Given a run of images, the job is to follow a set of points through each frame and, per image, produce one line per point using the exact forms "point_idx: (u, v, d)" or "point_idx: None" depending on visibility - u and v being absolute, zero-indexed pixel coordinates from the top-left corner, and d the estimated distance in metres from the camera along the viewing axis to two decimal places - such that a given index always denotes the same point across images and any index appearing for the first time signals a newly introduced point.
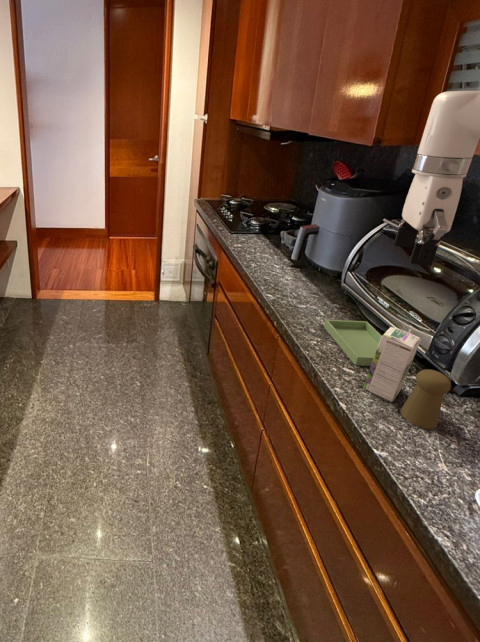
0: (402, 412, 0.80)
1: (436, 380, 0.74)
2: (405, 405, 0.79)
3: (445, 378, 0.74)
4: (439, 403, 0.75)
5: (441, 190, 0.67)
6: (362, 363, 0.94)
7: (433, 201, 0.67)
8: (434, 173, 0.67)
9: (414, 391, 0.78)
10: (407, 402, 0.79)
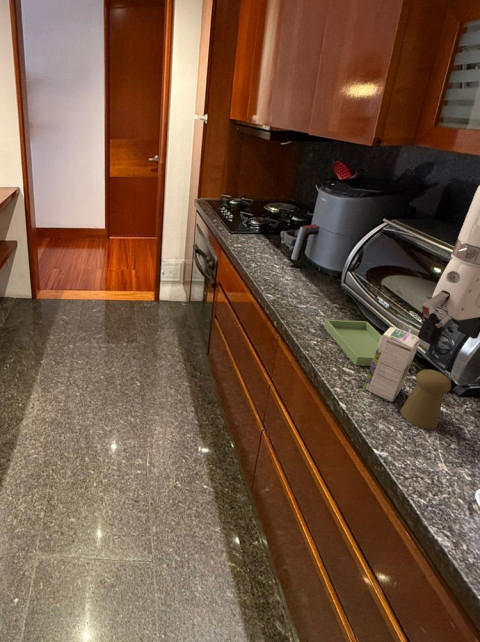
0: (402, 412, 0.80)
1: (436, 380, 0.74)
2: (405, 405, 0.79)
3: (445, 378, 0.74)
4: (439, 403, 0.75)
5: (456, 274, 0.66)
6: (362, 363, 0.94)
7: (443, 282, 0.68)
8: (455, 256, 0.67)
9: (414, 391, 0.78)
10: (407, 402, 0.79)
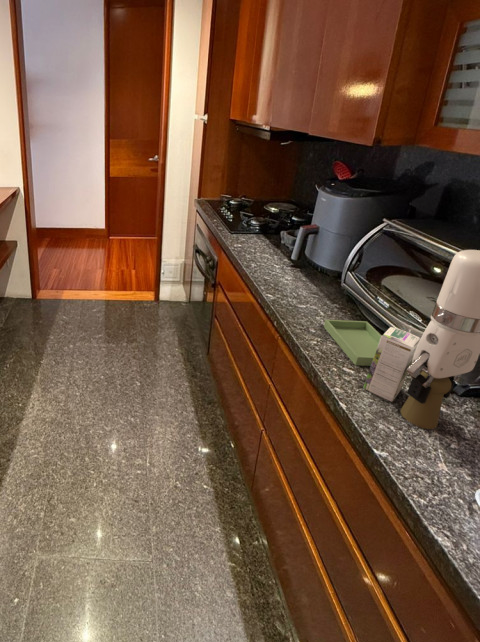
0: (402, 412, 0.80)
1: (437, 380, 0.74)
2: (405, 405, 0.79)
3: (446, 378, 0.74)
4: (439, 403, 0.75)
5: (435, 336, 0.71)
6: (362, 363, 0.94)
7: (423, 342, 0.72)
8: (434, 319, 0.71)
9: None
10: (407, 402, 0.79)
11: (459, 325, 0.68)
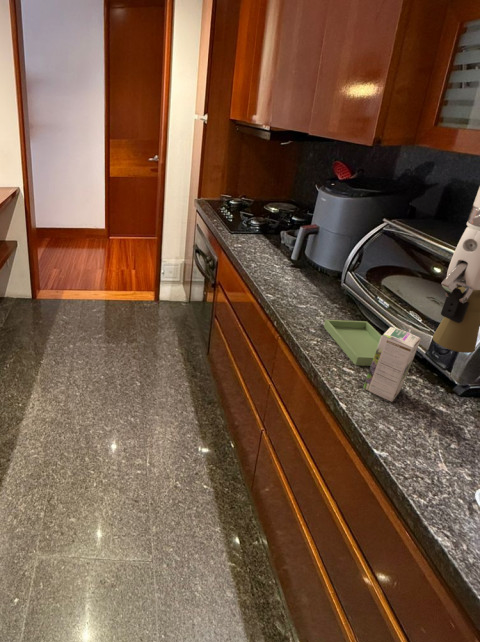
0: (435, 338, 0.73)
1: (475, 295, 0.67)
2: (438, 329, 0.72)
3: None
4: (478, 322, 0.68)
5: (473, 242, 0.64)
6: (362, 363, 0.94)
7: (459, 251, 0.65)
8: (471, 224, 0.64)
9: None
10: (440, 326, 0.72)
11: None
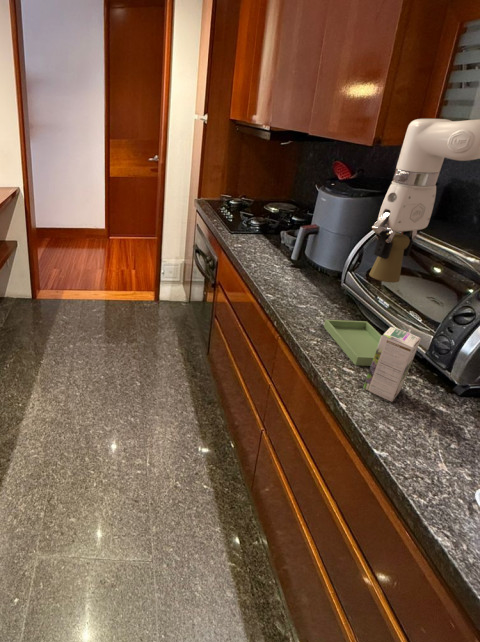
0: (370, 273, 0.94)
1: (397, 237, 0.88)
2: (373, 266, 0.93)
3: (405, 236, 0.88)
4: (400, 258, 0.89)
5: (394, 195, 0.85)
6: (362, 363, 0.94)
7: (385, 203, 0.86)
8: (394, 181, 0.85)
9: None
10: (374, 263, 0.93)
11: (413, 181, 0.82)
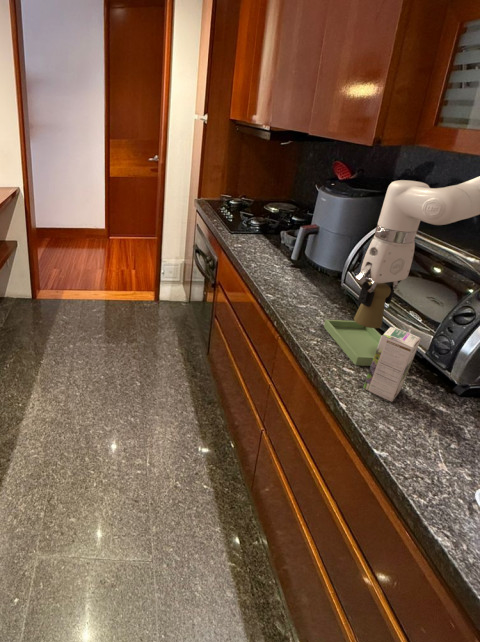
0: (355, 318, 1.00)
1: (379, 287, 0.94)
2: (357, 312, 0.99)
3: (386, 285, 0.94)
4: (382, 306, 0.95)
5: (376, 249, 0.91)
6: (362, 363, 0.94)
7: (367, 256, 0.92)
8: (375, 236, 0.91)
9: None
10: (358, 309, 0.99)
11: (392, 238, 0.88)
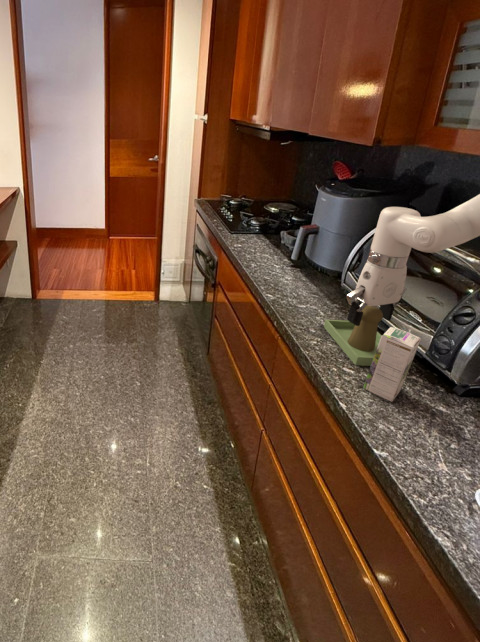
0: (348, 340, 1.02)
1: (371, 311, 0.96)
2: (351, 335, 1.02)
3: (378, 310, 0.97)
4: (374, 330, 0.98)
5: (369, 273, 0.93)
6: (362, 363, 0.94)
7: (361, 279, 0.94)
8: (368, 261, 0.94)
9: None
10: (352, 332, 1.02)
11: (384, 263, 0.90)
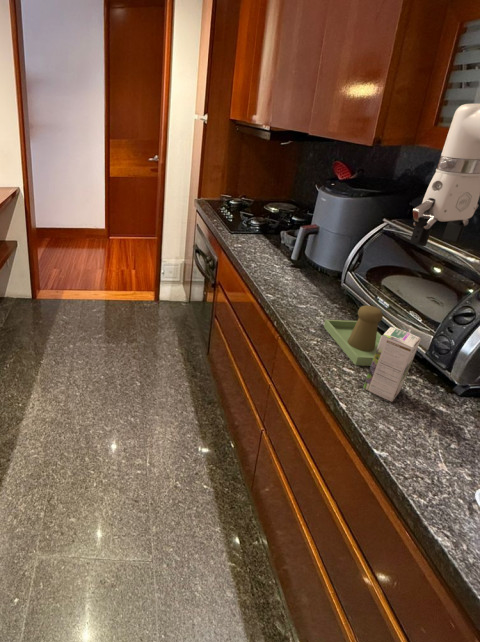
0: (348, 340, 1.02)
1: (371, 311, 0.96)
2: (351, 335, 1.02)
3: (378, 310, 0.97)
4: (374, 330, 0.98)
5: (439, 183, 0.82)
6: (362, 363, 0.94)
7: (429, 191, 0.83)
8: (439, 169, 0.82)
9: (357, 323, 1.00)
10: (352, 332, 1.02)
11: (460, 168, 0.79)
